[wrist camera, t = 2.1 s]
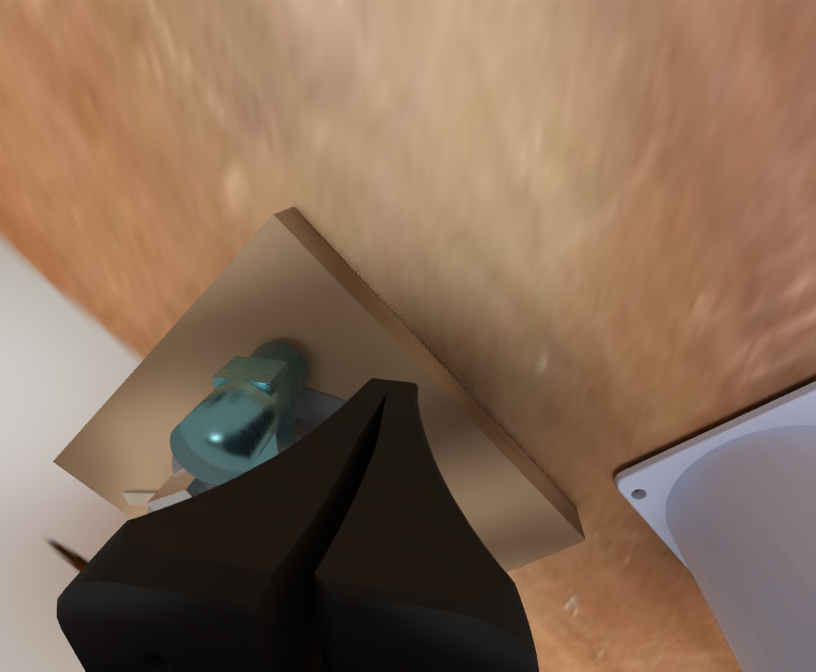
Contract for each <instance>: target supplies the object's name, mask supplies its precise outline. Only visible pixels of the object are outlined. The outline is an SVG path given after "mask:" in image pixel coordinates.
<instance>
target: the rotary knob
mask: <svg viewBox="0 0 816 672" xmlns="http://www.w3.org/2000/svg"><path fill="white" fill-rule="evenodd" d="M309 378H310V370H309V366H308V363H307V361H306V360H305V358H304V357H303V355H302V354H301V353H300V352H299V351H297V350H296V349H295V348H293V347H291V346H290V345H287V344H285V343H281V342H267V343H264V344H262V345H260V346H259V347H258V348H256V349H255V350H254V351H253V352H252V353H251V354H250V355H249V356H248V357H243V356H234V357H233V358H232V359H231V360H230V361H229V362H228V363H227V364H226V365H225V366H223V367H222V368H221V369H220V370H219V371H218V372H217V373H216V374H215V375H214V376H212V380H213V385H214V390H213V391H212V392H211V393H210V394H209V395H208V396H207V397H206V398H205V399H204V400H203V401H202V402H201V403H200V404H199V405H198V406H196V407H195V408H194V409H193V410H192V411H191V412H190V413H189V414H188V415H187V416H186V417H185V418H184V419H183V420H182V421H181V422H180V423H179V424H178V425H177V426H176V427H175V428H174V429H173V431H172V432H171V435H170V448H171V451H172V454H173V456H174V457H175V459H176V460H177V462H178V463H179V464H180V466H179V467H178V469H177V470H176V471H175V472H174V473H173V474H172V475H171V476H170V478H169V479H168V480H167V481H166V482H165V483H164V484H163V485H162V486H161V488H160V489H159V490H158V491H157V492H156V493H155V494H154V495H153V496H152V498H151V499H150V500H149V501H148V502H147V504H148V505H149V507H148V510H147V514H148V513H151V512H153V511H156V510H159V509H162V508H164V507H167V506H170V505H173V504H175V503H178V502H181V501H183V500H186V499H188V498H191V497H193V496H196V495H198V494H200V493H203V492H205V491H207V490H210V489H212V488H214V487H216V486H219V485H221V484H223V483H225V482H227V481H229V480H231V479H233V478H235V477H238V476H240V475H241V474H243V473H245V472H247V471H249V470H251V469H252V468H254V467H256V466H258V465H260V464H262V463H264V462H265V461H267V460H269V459H271V458H273V457H274V456H276V455H278V454H279V453H281V452H282V451H284V450H286V449H287V448H289V447H290V446H292V445H293V444H295V443H296V442H298V441H299V440H300V439H302V438H303V437H305V436H306V435H307V434H309V433H310V432H311V431H312V430H314V429H315V428H316V427H317V426H319V424H316V423H312V422H309V421H305V420H301V419H296V418H293V411H292V407H293V405H294V404H295V402H296V401H297V399H298V398H299V396H300V395H301V393H302V392H303V390H304V389H305V387H306V386H307V384H308V382H309Z"/></svg>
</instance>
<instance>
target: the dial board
mask: <svg viewBox="0 0 816 672" xmlns="http://www.w3.org/2000/svg"><path fill="white" fill-rule="evenodd" d="M267 342H281V343H285V344H287V345H290V346H291V347H293V348H295V349H296V350H297V351H299V352H300V353H301V354H302V355H303V357H304V358H305V360H306V361H307V363H308V366H309V370H310V378H309V382H308V384H307V386H306V387H305V389H304V390H303V392H302V393H301V395H300V396H299V398H298V399H297V401H296V402H295V404H294V405H293V407H292V411H293V418H296V419H301V420H305V421H309V422H312V423H316V424H319V425H320V424H321V423H323V422H324V421H325V420H326V419H328V418H329V417H330V416H331V415H332V414H333V413H334V412H336V411H337V410H338V409H339V408H340V407H341V406H342V405H343V404H345V403H346V402H347V401H348V400H349V399H350V398H351V397H352V396H353V395H354V394H355V393H356V392H357V391H358V390H359V389H360V388H361V387H362V386H363V385H364V384H365V383H366V382H368V381H369V380H370V379H371V378H377V379H386V380H395V381H404V382H413V383H416V384H417V386H418V405H419V411H420V416H421V420H422V424H423V427H424V431H425V434H426V437H427V441H428V443H429V446H430V449H431V451H432V454H433V457H434V459H435V461H436V464H437V466H438V468H439V470H440V472H441V475H442V477H443V479H444V481H445V483H446V485H447V487H448V488H449V490H450V492H451V494H452V496H453V498H454V499H455V501H456V503H457V504H458V506H459V507H460V509H461V511H462V512H463V514H464V515H465V517H466V519H467V520H468V522H469V523H470V525H471V527H472V528H473V530H474V531H475V532H476V534H477V535H478V537H479V538H480V539H481V541H482V542H483V544H484V545H485V546H486V548H487V549H488V550H489V552H490V553H491V554H492V556H493V557H494V558H495V559H496V561H497V562H498V563H499V565H500V566H501V567H502V568H503V569H504V571H505V572H509V571H511V570H513V569H516V568H518V567H521V566H523V565H526V564H528V563H530V562H533V561H535V560H538V559H540V558H543V557H545V556H548V555H550V554H552V553H555V552H557V551H560V550H562V549H565V548H567V547H569V546H572V545H574V544H577V543H579V542H582V541H584V540H586V539H585V536H584V533H583V529H582V526H581V522H580V519H579V516H578V512H577V509H576V507H575V506H574V505H573V504H572V503H571V502H570V501H569V500H568V499H567V498H566V497H565V496H564V494H563V493H562V492H561V491H560V490H559V489H558V488H557V487H556V486H555V485H554V484H553V483H552V482H551V481H550V480H549V478H548V477H547V476H546V475H545V474H544V473H543V472H542V471H541V470H540V469H539V468H538V467H537V466H536V465H535V464H534V462H533V461H532V460H531V459H530V458H529V457H528V456H527V455H526V454H525V453H524V452H523V451H522V450H521V449H520V448H519V446H518V445H517V444H516V443H515V442H514V441H513V440H512V439H511V438H510V437H509V436H508V435H507V434H506V433H505V432H504V431H503V429H502V428H501V427H500V426H499V425H498V424H497V423H496V422H495V421H494V420H493V419H492V418H491V417H490V416H489V415H488V413H487V412H486V411H485V410H484V409H483V408H482V407H481V406H480V405H479V404H478V403H477V402H476V401H475V400H474V399H473V397H472V396H471V395H470V394H469V393H468V392H467V391H466V390H465V389H464V388H463V387H462V386H461V385H460V384H459V383H458V381H457V380H456V379H455V378H454V377H453V376H452V375H451V374H450V373H449V372H448V371H447V370H446V369H445V368H444V367H443V365H442V364H441V363H440V362H439V361H438V360H437V359H436V358H435V357H434V356H433V355H432V354H431V353H430V352H429V351H428V349H427V348H426V347H425V346H424V345H423V344H422V343H421V342H420V341H419V340H418V339H417V338H416V337H415V336H414V335H413V333H412V332H411V331H410V330H409V329H408V328H407V327H406V326H405V325H404V324H403V323H402V322H401V321H400V320H399V319H398V317H397V316H396V315H395V314H394V313H393V312H392V311H391V310H390V309H389V308H388V307H387V306H386V305H385V304H384V303H383V301H382V300H381V299H380V298H379V297H378V296H377V295H376V294H375V293H374V292H373V291H372V290H371V289H370V288H369V287H368V286H367V284H366V283H365V282H364V281H363V280H362V279H361V278H360V277H359V276H358V275H357V274H356V273H355V272H354V271H353V270H352V268H351V267H350V266H349V265H348V264H347V263H346V262H345V261H344V260H343V259H342V258H341V257H340V256H339V255H338V254H337V252H336V251H335V250H334V249H333V248H332V247H331V246H330V245H329V244H328V243H327V242H326V241H325V240H324V239H323V238H322V236H321V235H320V234H319V233H318V232H317V231H316V230H315V229H314V228H313V227H312V226H311V225H310V224H309V223H308V222H307V220H306V219H305V218H304V217H303V216H302V215H301V214H300V213H299V212H298V211H297V210H296V209H295V208H294V207H293V208H290V209H287V210H284V211H282V212H279V213H276V214H274V215H273V216H272V217H271V218H270V219H269V220H268V221H267V222H266V224H265V225H264V226H263V227H262V228H261V229H260V230H259V231H258V232H257V234H256V235H255V236H254V237H253V238H252V239H251V240H250V241H249V243H248V244H247V245H246V246H245V247H244V248H243V249H242V250H241V252H240V253H239V254H238V255H237V256H236V257H235V258H234V259H233V260H232V262H231V263H230V264H229V265H228V266H227V267H226V268H225V269H224V271H223V272H222V273H221V274H220V275H219V276H218V277H217V278H216V280H215V281H214V282H213V283H212V284H211V285H210V286H209V287H208V289H207V290H206V291H205V292H204V293H203V294H202V295H201V296H200V297H199V299H198V300H197V301H196V302H195V303H194V304H193V305H192V306H191V308H190V309H189V310H188V311H187V312H186V313H185V314H184V315H183V317H182V318H181V319H180V320H179V321H178V322H177V323H176V324H175V325H174V327H173V328H172V329H171V330H170V331H169V332H168V333H167V334H166V336H165V337H164V338H163V339H162V340H161V341H160V342H159V343H158V345H157V346H156V347H155V348H154V349H153V350H152V351H151V352H150V354H149V355H148V356H147V357H146V358H145V359H144V360H143V361H142V362H141V364H140V365H139V366H138V367H137V368H136V369H135V370H134V372H133V373H132V374H131V375H130V376H129V377H128V378H127V379H126V380H125V382H124V383H123V384H122V385H121V386H120V387H119V388H118V389H117V390H116V392H115V393H114V394H113V395H112V396H111V397H110V398H109V399H108V401H107V402H106V403H105V404H104V405H103V406H102V407H101V408H100V410H99V411H98V412H97V413H96V414H95V415H94V416H93V417H92V419H91V420H90V421H89V422H88V423H87V424H86V425H85V426H84V428H83V429H82V430H81V431H80V432H79V433H78V434H77V435H76V436H75V438H74V439H73V440H72V441H71V442H70V443H69V444H68V445H67V447H66V448H65V449H64V450H63V451H62V452H61V453H60V454H59V455H58V457H57V458H56V459H55V460H54V461H53V462H54V463H56V464H57V465H59V466H60V467H61V468H63V469H64V470H65V471H67V472H68V473H69V474H71V475H72V476H74V477H75V478H76V479H78V480H79V481H81V482H82V483H84V484H85V485H86V486H88V487H89V488H90V489H92V490H93V491H95V492H96V493H97V494H99V495H100V496H101V497H103V498H104V499H106V500H107V501H108V502H110V503H111V504H113V505H114V506H115V507H117V508H118V509H120V510H121V511H122V512H124V513H125V514H127V515H128V516H129V517H131V518H132V519H134V518H137V517H140V516H143V515H145V514H147V510H148V507H149V505H148V504H147V502H148V501H149V500H150V499H151V498H152V496H153V495H154V494H155V493H156V492H157V491H158V490H159V489H160V488H161V486H162V485H163V484H164V483H165V482H166V481H167V480H168V479H169V478H170V476H171V475H172V474H173V473H174V472H175V471H176V470H177V469H178V467H179V466H180V464H179V463H178V462H177V460H176V459H175V457H174V456H173V454H172V451H171V448H170V435H171V432H172V431H173V429H174V428H175V427H176V426H177V425H178V424H179V423H180V422H181V421H182V420H183V419H184V418H185V417H186V416H187V415H188V414H189V413H190V412H191V411H192V410H193V409H194V408H195V407H196V406H198V405H199V404H200V403H201V402H202V401H203V400H204V399H205V398H206V397H207V396H208V395H209V394H210V393H211V392H212V391H213V390H214V385H213V380H212V376H214V375H215V374H216V373H217V372H218V371H219V370H220V369H221V368H222V367H223V366H225V365H226V364H227V363H228V362H229V361H230V360H231V359H232V358H233V357H234V356H243V357H248V356H249V355H250V354H251V353H252V352H253V351H254V350H255V349H256V348H258V347H259V346H260V345H262V344H264V343H267Z"/></svg>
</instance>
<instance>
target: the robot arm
mask: <svg viewBox="0 0 816 672" xmlns="http://www.w3.org/2000/svg"><path fill="white" fill-rule="evenodd" d="M615 483H616V486H617V488H618V490H619V491H620V493H621V494H622V495H623V496H624V497H625V498H626V499H627V500H628V502H629V503H630V504H631V505H632V506H633V507H634V508H635V510H636V511H637V512H638V513H639V514H640V515H641V516H642V518H643V519H644V520H645V521H646V522H647V523H648V524H649V525H650V527H651V528H652V529H653V530H654V531H655V532H656V533H657V535H658V536H659V537H660V538H661V539H662V540H663V541H664V543H665V544H666V545H667V546H668V547H669V548H670V549H671V550H672V552H673V553H674V554H675V555H676V556H677V557H678V558H679V560H680V561H681V562H682V563H683V564H684V565H685V566H686V567H687V569H688V570H689V571H690V572H691V574H692V575H693V577H694V579H695V581H696V583H697V585H698V587H699V589H700V591H701V593H702V595H703V597H704V599H705V600H706V602H707V604H708V606H709V608H710V610H711V612H712V614H713V616H714V618H715V620H716V622H717V624H718V625H719V627H720V629H721V631H722V633H723V635H724V637H725V639H726V641H727V643H728V645H729V647H730V649H731V651H732V652H733V654H734V656H735V658H736V660H737V662H738V664H739V666H740V668H741V670H742V672H816V381H815V382H813V383H810V384H808V385H806V386H804V387H802V388H800V389H797V390H795V391H793V392H791V393H789V394H787V395H785V396H782V397H780V398H778V399H776V400H774V401H772V402H769V403H767V404H765V405H763V406H761V407H759V408H757V409H754V410H752V411H750V412H748V413H746V414H744V415H742V416H739V417H737V418H735V419H733V420H731V421H729V422H726V423H724V424H722V425H720V426H718V427H716V428H714V429H711V430H709V431H707V432H705V433H703V434H701V435H698V436H696V437H694V438H692V439H690V440H688V441H686V442H683V443H681V444H679V445H677V446H675V447H673V448H671V449H668V450H666V451H664V452H662V453H660V454H658V455H655V456H653V457H651V458H649V459H647V460H645V461H643V462H640V463H638V464H636V465H634V466H632V467H630V468H627V469H625V470H623V471H621V472H620V473H618V474H617V475H616V477H615ZM638 489H640V490H639V491H635V490H638ZM634 491H635V492H634ZM57 619H58V621H59V624H60V627H61V629H62V631H63V633H64V635H65V636H66V638H67V640H68V641H69V643H70V645H71V647H72V648H73V650H74V652H75V654H76V655H77V657H78V659H79V661H80V662H81V664H82V666H83V668H84V669H85V672H539V667H538V660H537V654H536V650H535V646H534V641H533V637H532V634H531V630H530V626H529V623H528V620H527V616H526V613H525V610H524V607H523V604H522V602H521V599H520V596H519V593H518V591H517V588H516V585H515V583H514V581H513V580H512V579H511V578H510V577H509V575H508V574H507V573H506V572H505V571H504V569H503V568H502V567H501V566H500V565H499V563H498V562H497V561H496V559H495V558H494V557H493V556H492V554H491V553H490V552H489V550H488V549H487V548H486V546H485V545H484V544H483V542H482V541H481V539H480V538H479V537H478V535H477V534H476V532H475V531H474V530H473V528H472V527H471V525H470V523H469V522H468V520H467V519H466V517H465V515H464V514H463V512H462V511H461V509H460V507H459V506H458V504H457V503H456V501H455V499H454V498H453V496H452V494H451V492H450V490H449V488H448V487H447V485H446V483H445V481H444V479H443V477H442V475H441V472H440V470H439V468H438V466H437V464H436V461H435V459H434V457H433V454H432V451H431V449H430V446H429V443H428V441H427V437H426V434H425V431H424V427H423V424H422V420H421V416H420V411H419V405H418V386H417V384H416V383H413V382H404V381H395V380H386V379H377V378H371V379H370V380H369V381H368V382H366V383H365V384H364V385H363V386H362V387H361V388H360V389H359V390H358V391H357V392H356V393H355V394H354V395H353V396H352V397H351V398H350V399H349V400H348V401H347V402H346V403H345V404H343V405H342V406H341V407H340V408H339V409H338V410H337V411H336V412H334V413H333V414H332V415H331V416H330V417H329V418H328V419H326V420H325V421H324V422H323V423H321V424H320V425H319V426H317V427H316V428H315V429H314V430H312V431H311V432H310V433H309V434H307V435H306V436H305V437H303V438H302V439H300V440H299V441H298V442H296V443H295V444H293V445H292V446H290V447H289V448H287V449H286V450H284V451H282V452H281V453H279V454H278V455H276V456H274V457H273V458H271V459H269V460H267V461H265V462H264V463H262V464H260V465H258V466H256V467H254V468H252V469H251V470H249V471H247V472H245V473H243V474H241V475H240V476H238V477H235V478H233V479H231V480H229V481H227V482H225V483H223V484H221V485H219V486H216V487H214V488H212V489H210V490H207V491H205V492H203V493H200V494H198V495H196V496H193V497H191V498H188V499H186V500H183V501H181V502H178V503H175V504H173V505H170V506H167V507H164V508H162V509H159V510H156V511H153V512H151V513H148V514H145V515H143V516H140V517H137V518H134V519H131V520H128V521H127V522H126V523H125V524H124V525H123V526H122V527H121V528H120V529H119V530H118V531H117V532H116V533H115V534H114V535H113V536H112V537H111V538H110V539H109V540H108V541H107V543H106V544H105V545H104V546H103V547H102V548H101V549H100V550H99V552H98V553H97V554H96V555H95V556H94V557H93V558H92V559H91V560H90V562H89V563H88V564H87V565H86V566H85V567H84V568H83V569H82V571H81V572H80V573H79V574H78V575H77V576H76V578H75V579H74V580H73V581H72V582H71V583H70V584H69V585H68V586H67V587H66V588H65V590H64V591H63V593H62V594H61V595H60V596H59V598H58V600H57Z"/></svg>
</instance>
